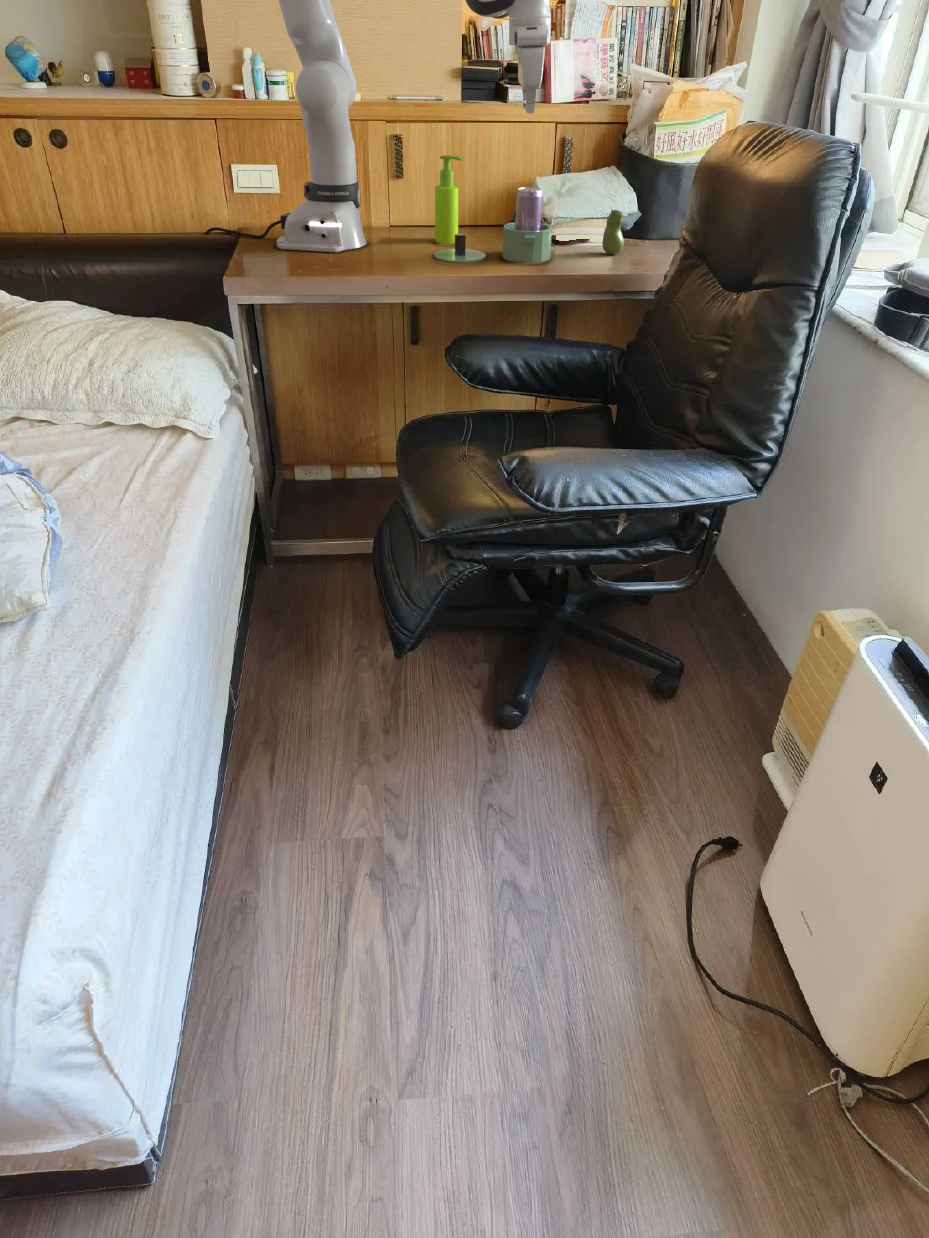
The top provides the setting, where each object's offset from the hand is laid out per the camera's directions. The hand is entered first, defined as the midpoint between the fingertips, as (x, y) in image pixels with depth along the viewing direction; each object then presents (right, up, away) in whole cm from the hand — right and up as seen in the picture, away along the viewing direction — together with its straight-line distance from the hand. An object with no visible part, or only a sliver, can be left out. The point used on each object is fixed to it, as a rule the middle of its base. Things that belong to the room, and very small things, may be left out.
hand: (528, 111), depth 183 cm
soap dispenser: (-18, -16, +30) cm, 38 cm away
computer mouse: (+14, -14, +34) cm, 39 cm away
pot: (+1, -26, +17) cm, 31 cm away
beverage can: (+1, -26, +17) cm, 31 cm away
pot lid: (-15, -26, +15) cm, 34 cm away
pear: (+23, -22, +23) cm, 39 cm away
